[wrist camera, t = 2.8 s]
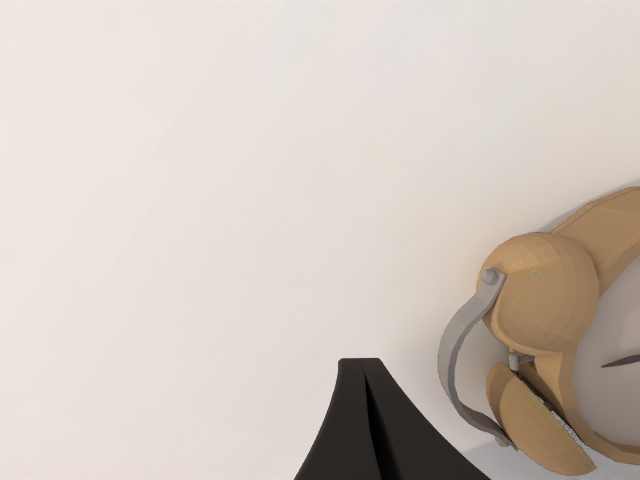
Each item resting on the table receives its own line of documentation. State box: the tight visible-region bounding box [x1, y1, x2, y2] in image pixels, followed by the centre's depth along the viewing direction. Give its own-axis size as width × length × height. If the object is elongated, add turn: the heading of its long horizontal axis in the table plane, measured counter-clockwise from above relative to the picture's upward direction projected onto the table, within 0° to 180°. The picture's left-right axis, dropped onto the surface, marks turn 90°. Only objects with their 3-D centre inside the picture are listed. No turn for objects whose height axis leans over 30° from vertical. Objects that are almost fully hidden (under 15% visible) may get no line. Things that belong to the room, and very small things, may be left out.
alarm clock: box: [438, 187, 640, 476], centre depth 14 cm, size 11×5×15 cm
